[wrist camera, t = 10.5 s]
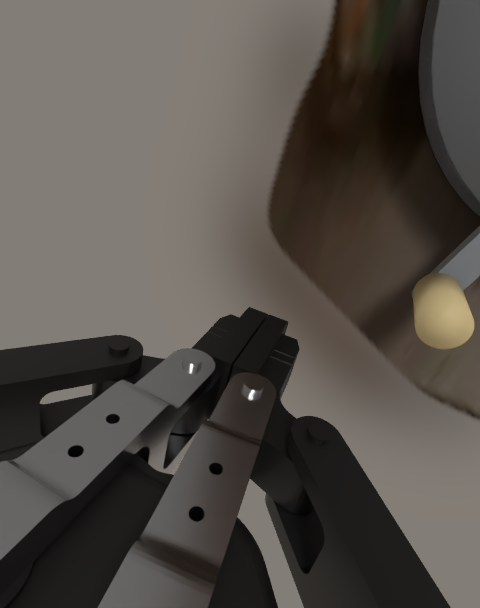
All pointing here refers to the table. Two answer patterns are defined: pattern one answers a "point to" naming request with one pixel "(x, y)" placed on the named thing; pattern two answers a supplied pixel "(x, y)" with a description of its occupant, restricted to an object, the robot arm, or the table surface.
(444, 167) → the turntable base
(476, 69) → the turntable
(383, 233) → the table surface
